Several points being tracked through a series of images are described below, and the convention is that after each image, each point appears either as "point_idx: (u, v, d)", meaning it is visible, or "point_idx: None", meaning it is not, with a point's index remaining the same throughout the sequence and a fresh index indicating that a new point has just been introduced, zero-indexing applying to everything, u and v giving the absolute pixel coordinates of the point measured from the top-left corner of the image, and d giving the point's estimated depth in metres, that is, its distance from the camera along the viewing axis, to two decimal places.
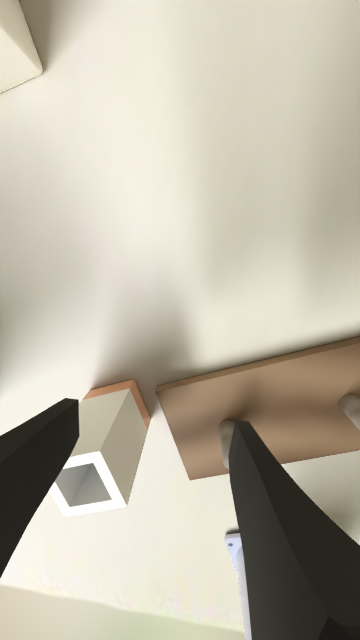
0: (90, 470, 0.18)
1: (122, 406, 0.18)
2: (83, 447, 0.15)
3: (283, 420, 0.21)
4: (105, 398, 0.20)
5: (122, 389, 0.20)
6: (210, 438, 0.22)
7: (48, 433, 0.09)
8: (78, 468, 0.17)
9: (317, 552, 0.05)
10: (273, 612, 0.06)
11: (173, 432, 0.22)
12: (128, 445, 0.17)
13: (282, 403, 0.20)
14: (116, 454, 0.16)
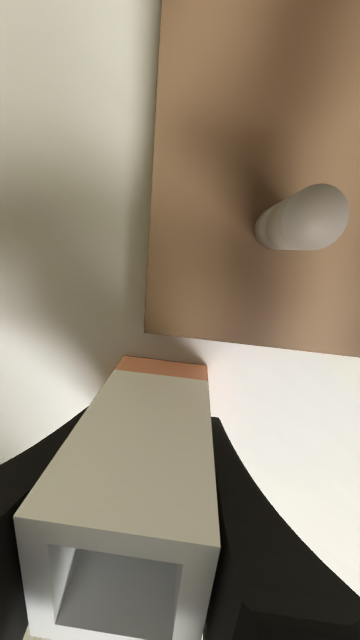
0: None
1: (99, 397, 0.09)
2: None
3: (317, 82, 0.08)
4: None
5: None
6: (285, 275, 0.10)
7: None
8: None
9: (252, 541, 0.05)
10: (215, 603, 0.06)
11: (238, 339, 0.11)
12: (152, 431, 0.08)
13: (270, 70, 0.08)
14: (107, 472, 0.06)
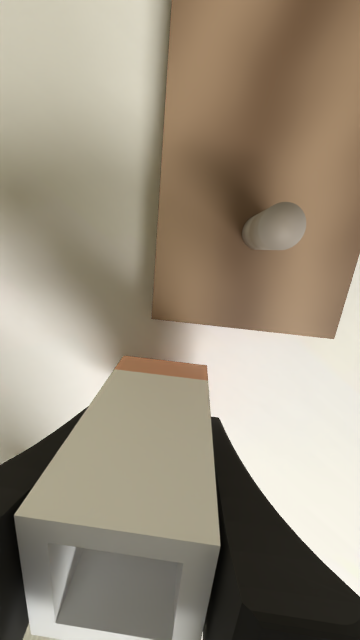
0: None
1: (100, 396, 0.09)
2: None
3: (289, 118, 0.11)
4: None
5: None
6: (267, 270, 0.12)
7: None
8: None
9: (253, 542, 0.05)
10: (215, 603, 0.06)
11: (229, 324, 0.13)
12: (152, 431, 0.08)
13: (252, 109, 0.11)
14: (108, 471, 0.06)
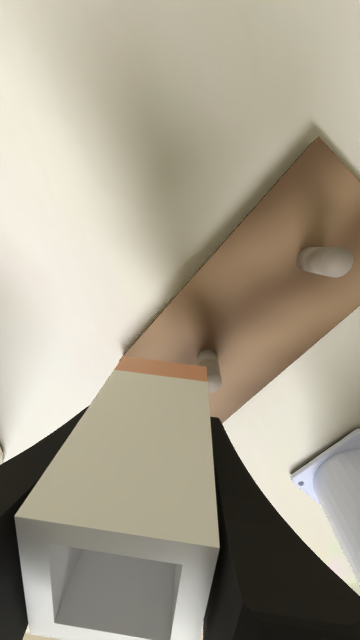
0: None
1: (100, 397, 0.09)
2: None
3: (255, 319, 0.18)
4: None
5: None
6: None
7: None
8: None
9: (253, 542, 0.05)
10: (216, 602, 0.06)
11: None
12: (152, 432, 0.08)
13: (242, 302, 0.18)
14: (107, 472, 0.06)
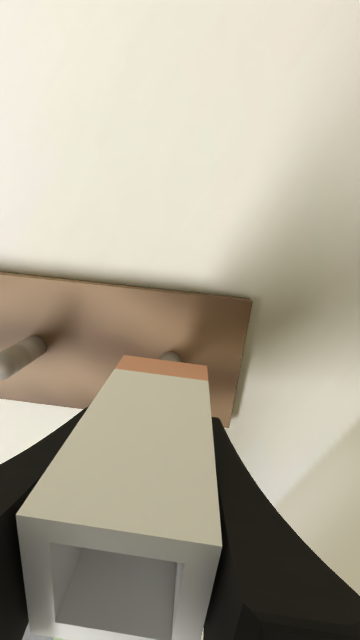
0: None
1: (100, 396, 0.09)
2: None
3: (98, 358, 0.18)
4: None
5: None
6: None
7: None
8: None
9: (253, 542, 0.05)
10: (216, 602, 0.06)
11: None
12: (153, 431, 0.08)
13: (101, 338, 0.17)
14: (109, 471, 0.06)
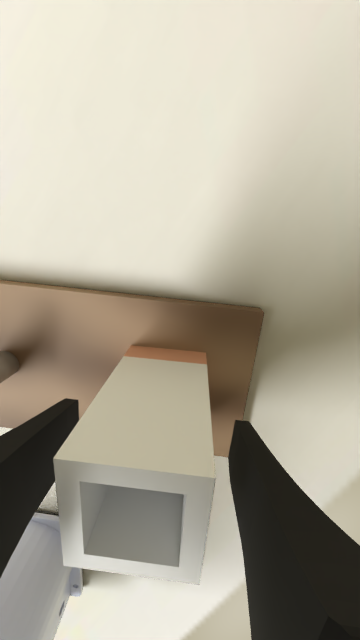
0: None
1: (112, 377, 0.11)
2: None
3: (80, 378, 0.15)
4: None
5: None
6: None
7: (48, 433, 0.09)
8: (158, 498, 0.09)
9: (317, 552, 0.05)
10: (273, 611, 0.06)
11: None
12: (159, 402, 0.09)
13: (83, 354, 0.15)
14: (124, 430, 0.08)
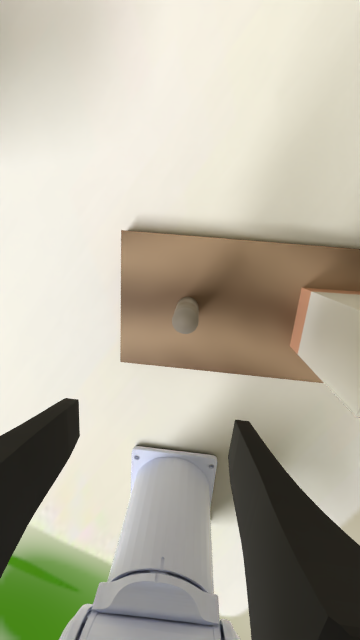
0: None
1: (331, 298, 0.13)
2: None
3: (250, 319, 0.18)
4: (309, 323, 0.15)
5: (309, 301, 0.16)
6: (163, 315, 0.18)
7: (48, 433, 0.09)
8: None
9: (317, 551, 0.05)
10: (273, 611, 0.06)
11: (123, 292, 0.18)
12: None
13: (257, 297, 0.17)
14: None
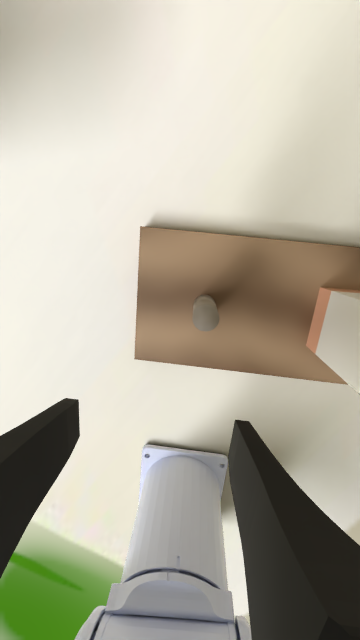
0: None
1: (355, 297, 0.13)
2: None
3: (267, 318, 0.18)
4: (329, 323, 0.15)
5: (328, 301, 0.16)
6: (179, 313, 0.18)
7: (48, 433, 0.09)
8: None
9: (317, 552, 0.05)
10: (273, 612, 0.06)
11: (140, 289, 0.18)
12: None
13: (275, 296, 0.17)
14: None
